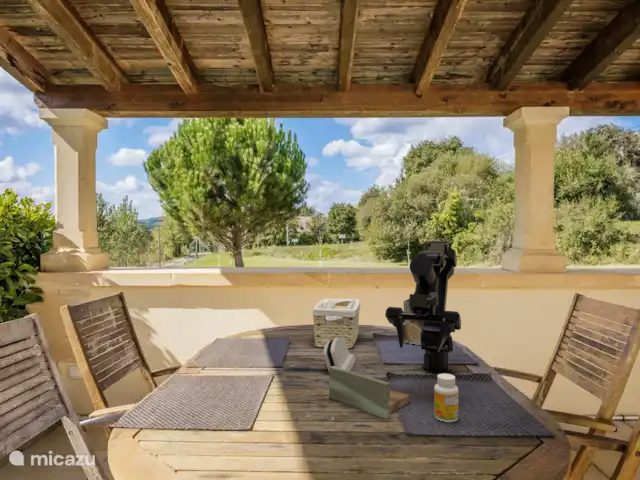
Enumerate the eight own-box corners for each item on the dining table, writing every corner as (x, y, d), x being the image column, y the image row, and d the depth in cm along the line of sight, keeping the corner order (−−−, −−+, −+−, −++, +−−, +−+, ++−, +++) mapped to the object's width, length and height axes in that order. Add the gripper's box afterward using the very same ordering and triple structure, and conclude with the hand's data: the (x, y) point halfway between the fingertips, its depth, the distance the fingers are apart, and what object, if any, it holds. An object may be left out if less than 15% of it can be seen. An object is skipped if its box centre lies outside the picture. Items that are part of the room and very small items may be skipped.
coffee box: (432, 343, 164) (432, 300, 164) (426, 347, 159) (426, 303, 158) (409, 339, 170) (409, 298, 169) (402, 343, 164) (402, 300, 164)
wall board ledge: (357, 385, 122) (357, 357, 122) (413, 403, 110) (413, 372, 109) (329, 397, 114) (328, 367, 114) (386, 418, 101) (386, 384, 101)
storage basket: (322, 332, 182) (322, 297, 182) (361, 333, 180) (361, 297, 179) (311, 348, 159) (311, 308, 158) (356, 350, 156) (356, 309, 155)
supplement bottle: (430, 413, 104) (430, 372, 104) (452, 412, 105) (453, 371, 104) (438, 423, 99) (438, 380, 98) (462, 422, 99) (462, 379, 99)
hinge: (346, 377, 129) (334, 344, 129) (331, 381, 130) (320, 349, 131) (355, 359, 145) (345, 331, 146) (342, 363, 146) (332, 335, 147)
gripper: (385, 277, 116) (375, 334, 108) (459, 281, 108) (454, 342, 101) (394, 296, 124) (385, 349, 117) (463, 300, 117) (458, 357, 109)
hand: (419, 349), depth 111 cm, fingers open, 9 cm apart
